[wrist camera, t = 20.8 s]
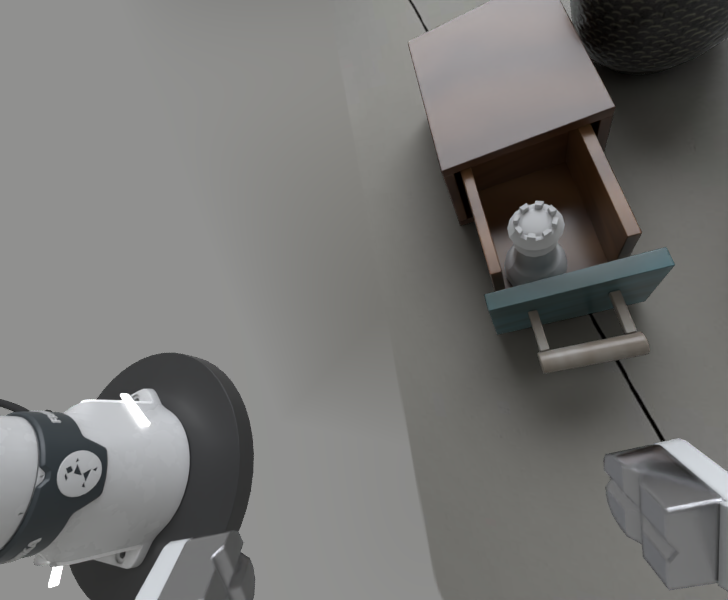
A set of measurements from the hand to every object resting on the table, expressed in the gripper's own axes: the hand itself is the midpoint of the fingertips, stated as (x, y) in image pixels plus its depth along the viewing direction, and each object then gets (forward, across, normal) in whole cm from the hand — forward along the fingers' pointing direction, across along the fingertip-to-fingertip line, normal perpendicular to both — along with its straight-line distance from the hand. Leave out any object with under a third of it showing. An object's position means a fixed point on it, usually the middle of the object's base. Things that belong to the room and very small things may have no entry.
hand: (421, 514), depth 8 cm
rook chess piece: (+23, -12, +2) cm, 26 cm away
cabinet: (+33, -15, -8) cm, 37 cm away
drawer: (+24, -14, +2) cm, 27 cm away
